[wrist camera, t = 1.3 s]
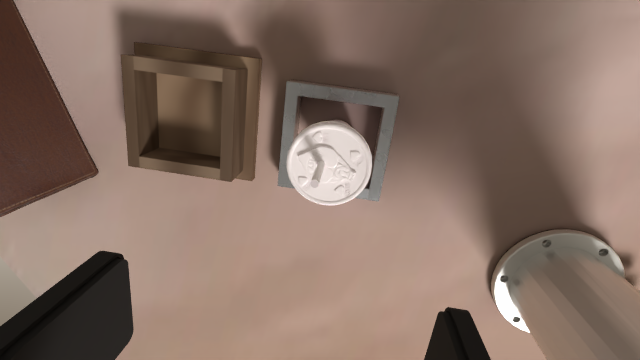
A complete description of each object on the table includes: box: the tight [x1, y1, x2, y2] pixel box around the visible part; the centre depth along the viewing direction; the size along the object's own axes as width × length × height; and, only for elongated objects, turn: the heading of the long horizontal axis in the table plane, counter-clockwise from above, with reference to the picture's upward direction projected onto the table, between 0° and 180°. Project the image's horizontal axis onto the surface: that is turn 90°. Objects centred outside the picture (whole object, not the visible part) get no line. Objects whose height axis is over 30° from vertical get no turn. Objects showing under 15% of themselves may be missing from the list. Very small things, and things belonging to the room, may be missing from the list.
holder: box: [278, 80, 399, 201], centre depth 33 cm, size 10×10×2 cm
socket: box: [121, 42, 262, 182], centre depth 33 cm, size 12×12×4 cm
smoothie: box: [287, 120, 372, 205], centre depth 28 cm, size 6×6×14 cm
